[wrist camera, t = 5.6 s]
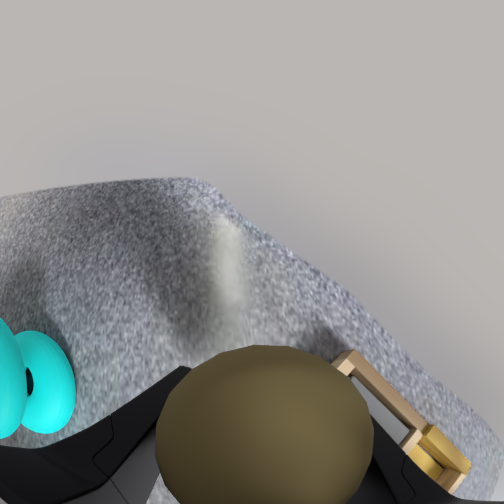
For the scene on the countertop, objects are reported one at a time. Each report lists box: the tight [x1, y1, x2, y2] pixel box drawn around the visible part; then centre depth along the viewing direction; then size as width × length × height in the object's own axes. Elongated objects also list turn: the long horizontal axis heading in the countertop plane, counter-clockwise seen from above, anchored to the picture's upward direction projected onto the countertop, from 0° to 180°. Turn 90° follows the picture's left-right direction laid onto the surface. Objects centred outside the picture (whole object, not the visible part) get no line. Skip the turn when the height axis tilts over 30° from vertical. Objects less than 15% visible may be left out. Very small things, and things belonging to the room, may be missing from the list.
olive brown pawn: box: [155, 345, 374, 504], centre depth 9 cm, size 6×6×11 cm
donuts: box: [0, 318, 76, 439], centre depth 14 cm, size 10×10×10 cm
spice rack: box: [331, 349, 471, 495], centre depth 16 cm, size 9×20×4 cm, turn 42°
